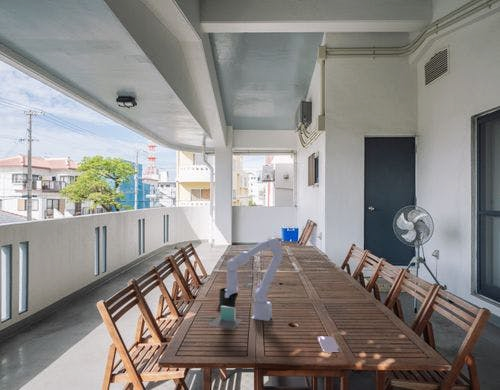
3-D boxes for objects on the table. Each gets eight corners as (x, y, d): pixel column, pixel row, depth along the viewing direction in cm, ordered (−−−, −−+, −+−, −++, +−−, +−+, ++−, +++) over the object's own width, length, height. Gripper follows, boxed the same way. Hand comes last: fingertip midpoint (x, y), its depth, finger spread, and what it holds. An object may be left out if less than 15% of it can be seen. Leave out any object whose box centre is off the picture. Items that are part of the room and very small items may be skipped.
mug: (217, 309, 191) (217, 293, 191) (220, 301, 203) (221, 287, 203) (233, 309, 190) (233, 294, 190) (236, 302, 202) (236, 287, 202)
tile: (235, 320, 173) (235, 307, 173) (234, 321, 172) (234, 308, 172) (221, 318, 176) (221, 305, 176) (220, 319, 174) (220, 306, 174)
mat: (242, 320, 175) (242, 319, 175) (233, 330, 163) (233, 329, 163) (218, 316, 179) (218, 315, 179) (207, 326, 167) (207, 325, 167)
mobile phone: (323, 351, 141) (316, 335, 156) (323, 353, 141) (316, 337, 156) (341, 351, 141) (333, 335, 156) (341, 353, 141) (333, 337, 156)
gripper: (230, 277, 186) (230, 301, 187) (219, 284, 173) (219, 310, 173) (242, 279, 184) (241, 303, 184) (232, 286, 170) (231, 312, 171)
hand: (231, 307), depth 179 cm, fingers closed
